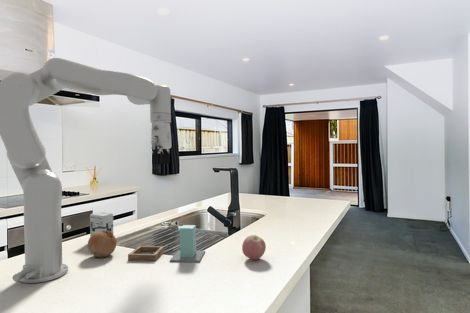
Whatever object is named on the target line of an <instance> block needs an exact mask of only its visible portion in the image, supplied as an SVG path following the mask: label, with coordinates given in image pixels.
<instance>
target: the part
mask: <svg viewBox="0 0 470 313" xmlns="http://www.w3.org/2000/svg"><path fill="white" fill-rule="evenodd" d="M179 250H180V257H192V258H193V257H194V255H195V254H196V251H197V225H196V224H195V225H194V224H183V225H182V226H180V228H179Z"/></svg>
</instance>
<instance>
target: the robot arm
mask: <svg viewBox="0 0 470 313" xmlns="http://www.w3.org/2000/svg"><path fill="white" fill-rule="evenodd" d="M65 89H70V90H74V91H79V92H83V93H86V94H89V95H90V94H91V95H95V96H110V95H112V96H114V95H118V96H126V98H127V100H128V101H129V102H130V103H132V104H134V105H138V106H140V105H142V106H143V105H149V108H150V109H149V112H150V113H149V117H150V120H149V121H150V123H151V129H150V130H151V131H150V132H151V135H150V136H151V137H150V140H151V141H150V144H151V161H152V162H151V165H154V166H158V165H159V166H160V165H166V164H168V165H169V164H170V160H171V159H170V157H171V156H170V153H171V152H170V149H171V148H172V133H171V132H172V131H171V123H172V114H171V113H172V112H171V110H172V108H171V107H172V106H171V102H172V101H171V100H172V99H171V98H172V97H171V88H170V87H169V86H167V85H164V84H155V83H154V82H153V81H152V80H150V79H148V78H146V77H143V76H139V75H135V74H132V73H127V72H119V71H113V70H106V69H100V68H96V67H93V66H89V65H86V64H82V63H79V62H75V61H71V60H69V59H66V58H60V57H52V58H49V59H48V60H47V61H46V62H45V63H44V65H43V66H42V67H41V68H40V69H38V70H36V71H33V72H31V73H29V74H28V73H25V72H14V73H11V74H9V75H6V77H4V78H3V79H1V80H0V139H1V141H2V143H3V144H4V147H5V150H6V157H7V159H8V161H9V163H10V165H11V168H12V170H13V172H14V174H15V177H16V178H17V180H18V183H19V185H20V186H21V189H22V192H23V227H24V228H23V229H24V230H23V232H24V265H22V269H21V270H20V271H18V272H17V273H14V274H13V275H12V280H13V281H14V282H18V281H20V282H21V283H25V284H37V283H43V282H48V281H52V280H55V279H58V278H60V277H62V276H64V275H65V274H67V273H68V271H69V266H68V265H67V264H65V263H63V236H62V235H63V234H62V229H63V228H62V202H63V201H62V200H63V185H62V182H61V180H60V178H59V176H58V175H56V174H55V173H54V172H53V171H52V168H51V165H50V164H49V162H48V159H47V157H46V152H47V151H46V148H45V146H44V145H43V143H42V140H41V139H40V137H39V134H38V132H37V129H36V127H35V126H34V123H33V120H32V117H31V114H30V112H29V111H30V106H32V105H34V104H37V103H39V102H41V101H43V100H45V99H47V98H49V97H51V96H52V95H55V94H57V93H58V92H60V91H63V90H65Z"/></svg>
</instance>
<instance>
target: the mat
mask: <svg viewBox="0 0 470 313" xmlns="http://www.w3.org/2000/svg"><path fill="white" fill-rule="evenodd" d="M205 253H206V250H196V254H195V255H194V257H193V258H192V257H180V249H177V251H176V252H175V253H174V255H173V256H172V257H171V258H170V259H169V261H170V263H200V262H201V260H202V258H203V257H204V255H205Z"/></svg>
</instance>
